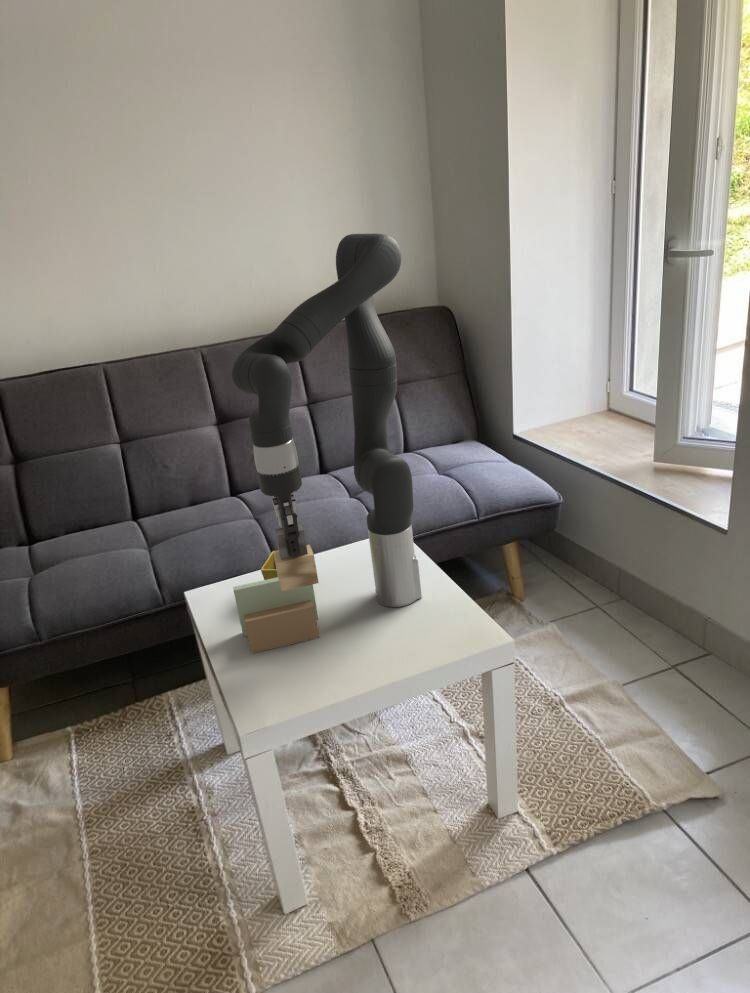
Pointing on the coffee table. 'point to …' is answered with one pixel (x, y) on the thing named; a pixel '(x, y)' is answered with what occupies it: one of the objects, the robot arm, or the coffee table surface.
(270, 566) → the flower pot
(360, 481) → the robot arm
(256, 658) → the coffee table surface
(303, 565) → the cabinet block
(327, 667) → the coffee table surface
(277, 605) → the wall board
